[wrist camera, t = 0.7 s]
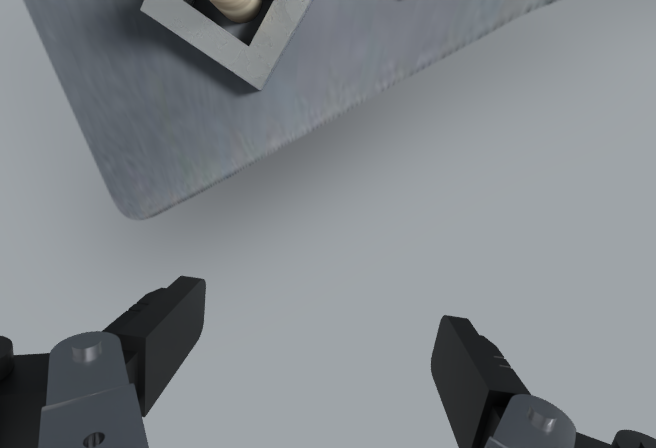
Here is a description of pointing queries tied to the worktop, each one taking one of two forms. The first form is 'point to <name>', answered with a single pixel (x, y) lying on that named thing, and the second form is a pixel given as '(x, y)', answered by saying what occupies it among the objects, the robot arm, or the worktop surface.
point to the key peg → (239, 9)
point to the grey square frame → (247, 62)
